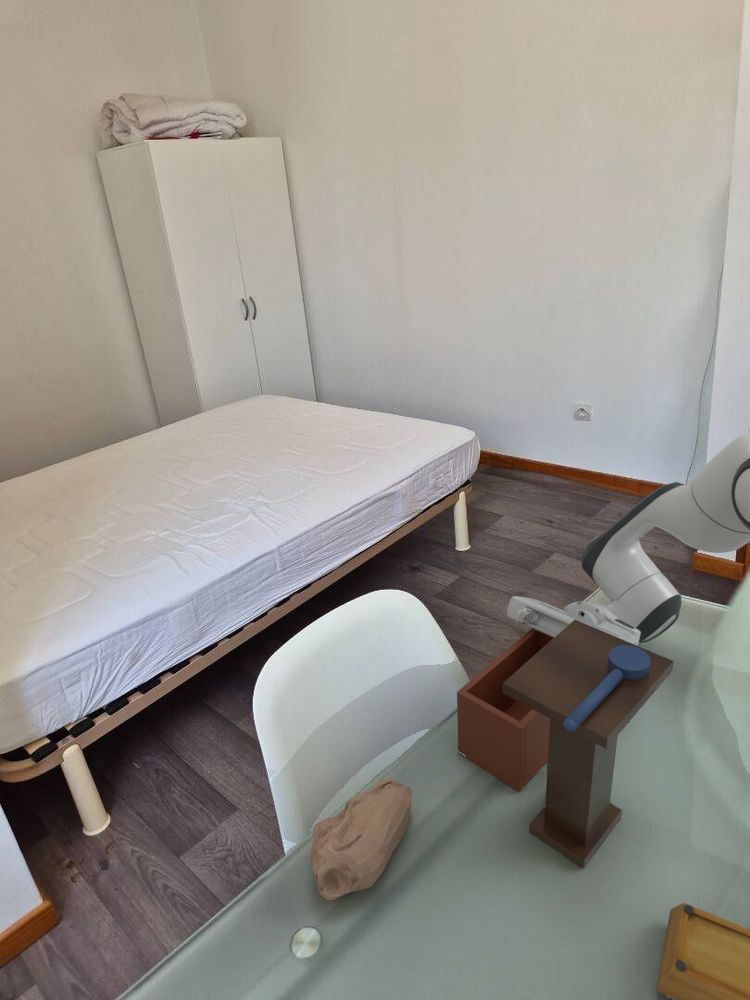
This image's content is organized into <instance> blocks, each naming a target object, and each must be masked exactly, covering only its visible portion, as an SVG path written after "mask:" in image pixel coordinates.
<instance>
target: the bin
mask: <svg viewBox="0 0 750 1000" xmlns="http://www.w3.org/2000/svg"><path fill="white" fill-rule="evenodd" d="M552 639H553V637H551V636H549V635H546V634H544V633H542V632H540V631H538V630H535V629H533V628H531V629H529V630H528V631H527V632H525V634H523V635H522V636H521V637H520V638H519V639H518V640H516V641H515V642H514V643H513V644H512V645H510V646H509V647H508V648H507V649H506V650H505V651H503V652H502V653H501V654H500V655H499V656H498V657H496V658H495V659H494V660H493V661H492V662H490V663H489V664H488V665H486V667H484V668H483V669H482V670H481V671H480V672H478V673H477V674H475V676H474V677H473V678H471V679H470V680H469V681H468V682H467V683H465V684H464V685H463V686H462V687H461V688H459V690H457V692H456V705H457V706H456V710H457V711H456V713H457V716H456V717H457V754H459V755H461V757H464V758H465V759H467V760H469V761H470V762H472V763H473V764H474V765H476V766H477V767H478V768H481V769H482V770H484V771H485V772H487V773H488V774H490V775H491V776H493V777H495V778H496V779H498V780H499V781H501V782H502V783H504V784H506V785H507V786H509V787H510V788H512V789H513V790H515V791H516V792H518V793H521V791H522V790H523V789H524V788H525V787H526V786H527V785H528V784H529V783H530V782H531V780H533V778H534V777H535V776H536V775H537V774H538V773H539V772H540V770H542V768H543V767H544V766H545V765H547V764H548V748H549V732H550V718H548V717H546V716H544V715H542V714H540V713H539V712H537V711H535V710H533V709H531V708H529V707H528V706H526V705H524V704H522V703H520V702H518V701H516V700H515V699H513V698H511V697H509V696H507V695H505V694H504V693H503V683H504V682H505V681H506V680H507V679H508V678H510V677H511V676H512V675H513V674H514V673H515V672H516V671H517V670H519V669H520V668H521V667H522V666H523V665H524V664H525V663H526V662H528V661H529V660H530V659H531V658H532V657H533V656H534V655H535V654H537V653H538V652H539V651H540V650H541V649H542V648H543V647H544V646H546V645H547V644H548V643H549V642H550V641H551V640H552ZM458 751H459V752H461V753H462V754H464V755H465V756H466V757H465V756H464V755H462V754H461V753H459V752H458Z"/></svg>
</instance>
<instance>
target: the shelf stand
mask: <svg viewBox="0 0 750 1000" xmlns="http://www.w3.org/2000/svg"><path fill="white" fill-rule="evenodd" d="M621 645H630V646H634V647H638V648H640V649H642V650H643V651H645V652H646V653H647V654H648V655H649V657H650V659H651V664H650V671H649V674H648V675H647V676H646V677H644V678H642V679H638V680H628V679H624V678H623V679H622V680H621V681H620V682H619V683H618V684H617V686H616V687H615V688H614V689H613V690H612V691H611V692H610V693H609V694H608V695H607V696H606V697H605V699H604V700H603V701H602V702H601V703H600V704H599V705H598V706H597V707H596V708H595V709H594V710H593V712H592V713H591V714H590V715H589V716H588V717H587V718H586V719H585V720H584V721H583V722H582V723H581V725H580V726H579V727H578V728H577V729H576V730H575V731H568V730H566V729H565V727H564V721H565V719H566V718H567V717H568V716H569V715H570V714H571V713H572V712H573V711H574V710H575V709H576V708H577V707H578V706H579V705H580V704H581V703H582V702H583V701H584V700H585V698H586V697H587V696H588V695H589V694H590V693H591V692H592V691H593V690H594V689H595V688H596V687H597V686H598V685H599V684H600V683H601V682H602V681H603V680H604V679H605V678H606V676H607V675H608V674H609V673H610V672H611V670H610V669H609V667H608V658H609V652H610V651H611V649H613V648H614V647H616V646H621ZM674 663H675V661H674V660H673V659H670V658H667V657H666V656H662V655H661V654H658V653H656V652H653V651H651V650H649V649H646V648H644V647H641V646H639V645H638V646H637V645H634V644H632V643H630V642H627V641H625V640H623V639H620V638H618V637H615V636H613V635H611V634H608V633H606V632H604V631H601V630H599V629H596V628H594V627H592V626H589V625H587V624H585V623H582V622H580V621H578V620H574V621H572V622H571V623H570V624H569V625H568V626H567V627H566V628H565V629H563V630H562V631H561V632H560V633H559V634H558V635H557V636H556V637H554V638H553V639H552V640H551V641H550V642H549V643H548V644H547V645H546V646H544V647H543V648H542V649H541V650H540V651H539V652H538V653H537V654H535V655H534V656H533V657H532V658H531V659H530V660H529V661H528V662H526V663H525V664H524V665H523V666H522V667H521V668H520V669H519V670H517V671H516V672H515V673H514V674H513V675H512V676H511V677H510V678H508V679H507V680H506V681H505V682H504V683H503V693H504V694H505V695H507V696H509V697H511V698H513V699H515V700H516V701H518V702H520V703H522V704H524V705H526V706H528V707H529V708H531V709H533V710H535V711H537V712H539V713H540V714H542V715H544V716H546V717H548V718H550V732H549V748H548V762H547V764H546V765H547V766H546V767H547V768H546V784H545V800H544V801H545V802H544V807H543V808H542V809H541V810H540V811H539V813H538V814H537V815H536V816H535V817H534V818H533V820H532V821H531V822H530V823H529V827H528V832H529V834H531V835H533V836H534V837H536V838H538V839H539V840H540V841H542V842H543V843H544V844H546V845H548V846H549V847H551V848H552V849H554V850H555V851H556V852H558V853H559V854H560V855H562V856H563V857H565V858H566V859H568V860H570V861H571V862H572V863H573V864H575V865H577V866H578V867H579V868H581V869H582V870H583V869H585V868H586V867H587V865H588V864H589V862H590V861H591V859H593V857H594V856H595V854H596V853H597V852H598V850H599V849H600V848H601V846H602V845H603V843H605V841H606V840H607V838H608V837H609V835H610V834H612V831H613V830H614V829H615V828H616V826H617V825H618V823H619V822H620V821H621V820H622V818H623V809H621V808H620V807H618V806H616V805H614V804H613V803H611V798H612V797H611V795H612V789H613V778H614V770H615V764H616V763H615V762H616V754H617V745H618V737H619V735H620V733H621V732H622V731H623V730H624V729H625V728H626V727H627V725H628V724H629V723H630V722H631V721H632V720H633V718H634V717H635V716H636V715H637V714H638V713H639V711H640V710H641V708H643V707H644V706H645V704H646V703H647V702H648V700H650V698H651V697H652V696H653V695H654V693H655V692H656V691H657V690H658V689H659V687H660V686H661V685H662V684H663V683H664V682H665V681H666V679H667V678H668V677H669V676H670V674H671V673H673V670H674Z"/></svg>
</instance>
